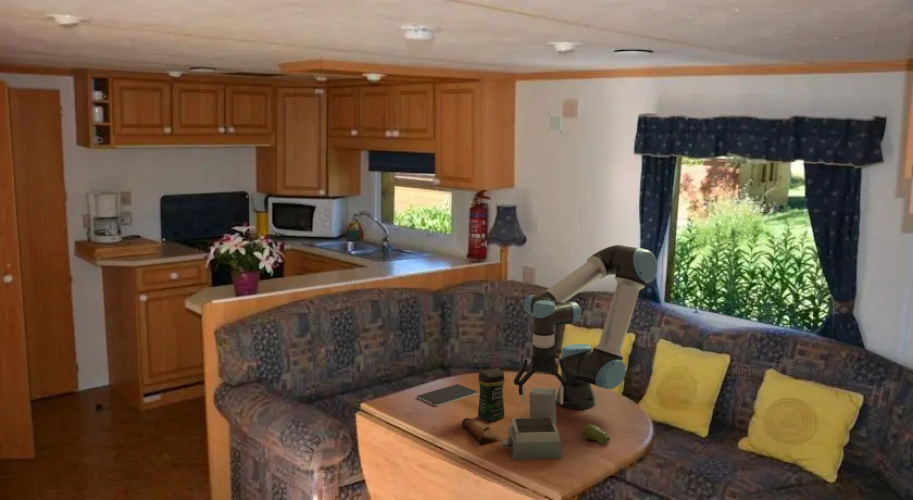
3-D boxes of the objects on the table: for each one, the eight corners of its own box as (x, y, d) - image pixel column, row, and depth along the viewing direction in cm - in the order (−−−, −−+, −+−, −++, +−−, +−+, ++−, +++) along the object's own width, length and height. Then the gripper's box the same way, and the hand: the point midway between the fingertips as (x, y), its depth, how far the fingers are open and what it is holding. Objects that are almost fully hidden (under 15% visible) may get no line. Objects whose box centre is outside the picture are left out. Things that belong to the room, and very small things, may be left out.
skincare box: (556, 430, 290) (557, 387, 287) (552, 437, 284) (552, 394, 281) (533, 427, 293) (533, 385, 290) (528, 434, 286) (528, 392, 283)
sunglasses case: (503, 441, 281) (494, 426, 279) (487, 453, 279) (478, 439, 277) (482, 422, 297) (473, 409, 295) (467, 434, 296) (458, 421, 294)
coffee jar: (486, 423, 296) (486, 375, 293) (474, 417, 303) (474, 369, 300) (508, 418, 302) (508, 370, 298) (496, 411, 308) (495, 364, 305)
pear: (589, 419, 285) (614, 431, 279) (587, 433, 286) (611, 445, 280) (580, 424, 281) (605, 436, 274) (578, 438, 282) (602, 450, 276)
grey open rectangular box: (554, 441, 280) (554, 416, 279) (561, 458, 267) (561, 432, 265) (500, 442, 280) (500, 418, 278) (504, 460, 266) (504, 434, 264)
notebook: (457, 387, 337) (417, 399, 323) (457, 383, 337) (416, 395, 323) (477, 395, 327) (436, 408, 314) (477, 391, 327) (436, 404, 314)
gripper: (576, 341, 287) (575, 398, 290) (506, 342, 286) (505, 399, 289) (580, 347, 279) (579, 406, 283) (508, 348, 278) (508, 407, 282)
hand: (542, 403), depth 286 cm, fingers open, 13 cm apart
